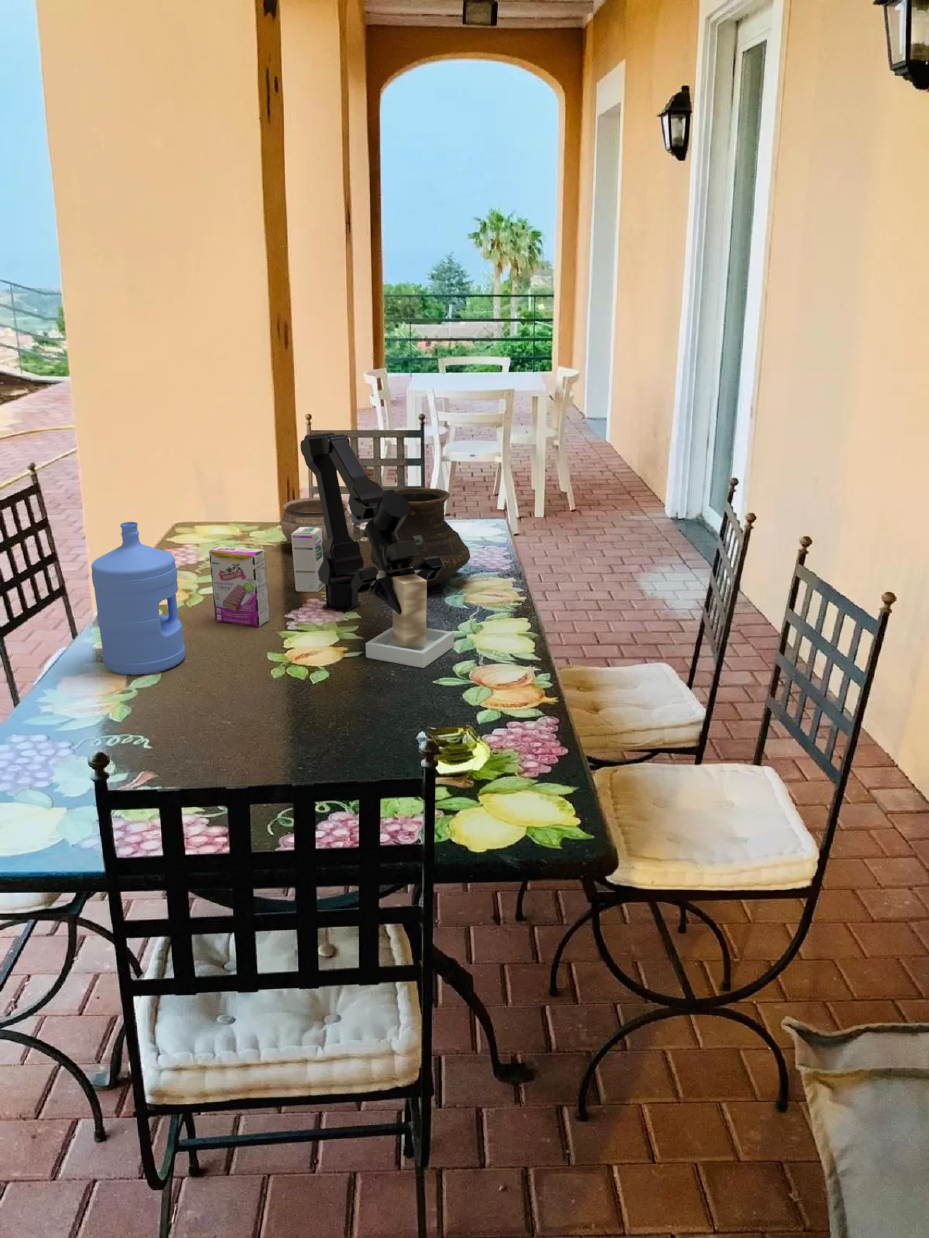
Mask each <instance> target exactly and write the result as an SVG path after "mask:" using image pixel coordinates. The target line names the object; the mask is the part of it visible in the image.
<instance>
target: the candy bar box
mask: <svg viewBox="0 0 929 1238" xmlns="http://www.w3.org/2000/svg"><path fill="white" fill-rule="evenodd" d="M208 554H209V564H210V576H211V585H212V596H213V597H212V598H213V599H212V600H213V607H214V618H215V619H214V620H215V622H217V623H222V624H223V623H224V624H232V625H240V626H247V627H248V626H249V627H256V628H260V627H262V626H263V625H265V624H266V623H268V622H270V617H271V616H270V608H269V607H270V606H269V605H270V604H269V594H268V593H269V591H268V580H267V579H268V578H267V565H266V551H265V549H261V548H251V547H249V548H248V547H241V546H232V545H225V544H224V545H223V544H221V545H218V546H216V547H213V548H211V549H210V550H208Z"/></svg>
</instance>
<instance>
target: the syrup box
mask: <svg viewBox="0 0 929 1238" xmlns="http://www.w3.org/2000/svg"><path fill="white" fill-rule="evenodd" d="M291 538H292V543H291V548H292V549H291V550H292V561H293V571H294V584H295V591H296V592H300V593H319V592H320V591H321V590H322V589H323V588H324V587H325V584H324V583H322V582H321V581H320V580H319V576H318V570H319V568H320V566H321V564H322V562H323V560H324V558H323V540H322V529H321V528H317V527H300V528H299V529H298V530H296V531H294V532H293V533H292V534H291Z"/></svg>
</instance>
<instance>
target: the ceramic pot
mask: <svg viewBox="0 0 929 1238" xmlns="http://www.w3.org/2000/svg"><path fill="white" fill-rule="evenodd" d="M394 491H395V494H399V495H401V496H403V497H404V498H405V499H406V500H407V501H408V502H409V504H410V511H409V513H408V515H407V517H406V518H405V520H404V522H403V523H402V525H401V527H400V528H399V529H398V530H397V531H396V533H397V536H398V538H399V540H403V541H409V540H410V538H411V537H413V536H418V535H421V537H422V539H423V541H424V544H425V550H424V551H421V552H418V553H419V556H414V557H413V559H414V560H413V562H412V563H410V564H409V565H410V567H411V566H417V565H418V564H419V563H420V561H421V560H422V558H426V557H432V556H439V557H440V558H441V559H442V561H443V563H444V565H445V566H444V568H443V569H442V571H441V572H440V574H439V575H438V577H437V578H436V579H434V580H430V581H427V588H432V587H434V586H436V585H439V584H440V583H442V582H443V581H445V580H448V579H449V578H450V577H452V576H453V575H454V574H455V573H457V572H458V571H459V570H460V569H461V568H463V567H464V566H465V565H467V564H468V563H469V560H470V558H471V553H470V549H469V546H467V545H466V544H465V542H464V541H463V540H462V538H461V536H460V534H459V533H458V531H456V530H454V529H453V527H452V526H451V525H450V524H449V523H448V522H447V521H446V520H445V502H447V500H448V499H449V498H450V497H451V494H450V493H449V492H448V491H447V490H444V489H440V488H431V487H430V488H429V487H404V488H398V489H397V488H396V489H394ZM373 556H374V552H373V549H372V548H371V551H370V559H371V562H372V563H373V564H374V565H375V567H376V568H379V569H380V567H379V564H378V562H377V561H376V562H374V559H373Z"/></svg>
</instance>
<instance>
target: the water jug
mask: <svg viewBox="0 0 929 1238" xmlns="http://www.w3.org/2000/svg"><path fill="white" fill-rule="evenodd" d="M119 526H120V528H121V532H120V533H121V534H120V535H121V538H122V539H121V540H122V543H121V545H120V546H118V547H116V548H115V549H112V550H111V551H109V552H107V553H105V554H103V555H101V556H99V557H98V558H96V559H95V560H93V561H92V563H91V579H92V580H91V581H92V584H93V585H92V586H93V589H94V597H95V603H96V604H95V605H96V615H97V616H96V617H97V624H98V627H99V633H100V641H101V647H102V663H103V665H104V667H105V668H106V669H107V670H109V671H110V672H112V673H115V674H120V675H125V674H131V675H130V676H138V675H137V674H144V675H151V674H155V672H157V673H160V672H159V671H161V672H164V671H167V670H169V668H170V669H172V668H174V667H175V666H178V665H179V664H180V663H182V662H183V660H184V659H185V657H186V644H185V643H184V642H185V641H184V632H183V624H182V621H181V620H180V619H179V611H178V603H177V601H178V600H177V593H178V590H179V584H178V571H177V570H178V569H177V564H176V559H175V556H174V555H173V554H172V553H170V552H168V551H165V550H161V549H159V548H155V547H152V546H150V545H146V544H143V543H141V542H140V537H139V536H140V531H139V529H138V526H139V525H138V522H135V521H127V522H126V521H125V522H122V523H120V525H119ZM164 600H167V601H166V602H167V611H168V612H167V613H168V615H164V614H160V610H159V609H160V608H159V606H160V604H161V602H162V601H164ZM177 664H178V665H177ZM171 667H172V668H171ZM166 669H167V670H166ZM150 673H151V674H150Z"/></svg>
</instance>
